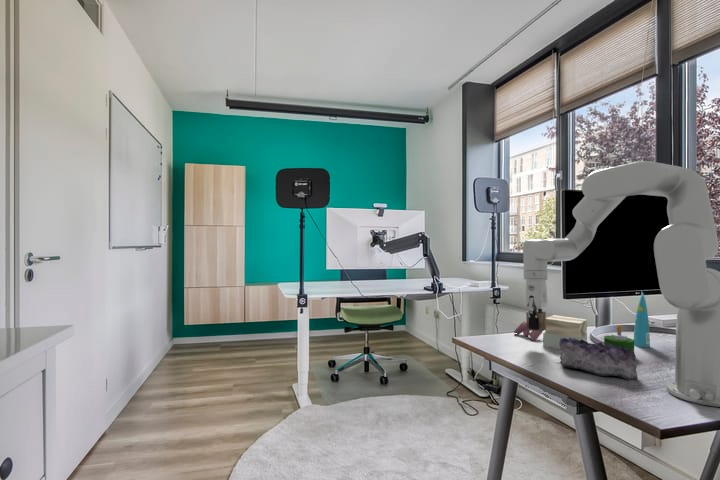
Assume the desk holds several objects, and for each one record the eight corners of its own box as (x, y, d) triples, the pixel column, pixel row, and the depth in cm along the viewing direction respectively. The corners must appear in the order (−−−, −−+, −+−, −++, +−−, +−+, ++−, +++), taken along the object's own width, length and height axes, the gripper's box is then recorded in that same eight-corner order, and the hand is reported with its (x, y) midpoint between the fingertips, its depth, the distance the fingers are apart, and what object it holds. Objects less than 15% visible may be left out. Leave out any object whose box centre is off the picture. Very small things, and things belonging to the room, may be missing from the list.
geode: (638, 372, 112) (640, 340, 111) (636, 390, 103) (638, 355, 102) (560, 355, 124) (562, 326, 123) (552, 370, 115) (553, 338, 114)
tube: (632, 342, 144) (633, 290, 144) (648, 344, 142) (649, 291, 141) (634, 347, 138) (635, 293, 137) (651, 349, 135) (652, 294, 135)
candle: (603, 350, 134) (604, 321, 134) (632, 354, 129) (633, 324, 129) (604, 356, 127) (604, 326, 126) (635, 360, 122) (635, 329, 122)
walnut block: (542, 331, 131) (541, 313, 131) (526, 329, 134) (526, 312, 134) (545, 329, 135) (545, 311, 135) (530, 327, 138) (530, 310, 138)
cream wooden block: (579, 338, 131) (579, 323, 131) (545, 332, 138) (545, 318, 138) (586, 333, 137) (586, 319, 137) (553, 328, 145) (553, 315, 145)
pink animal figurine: (539, 344, 145) (546, 327, 146) (531, 340, 144) (538, 322, 145) (519, 338, 154) (526, 321, 155) (512, 333, 153) (518, 317, 154)
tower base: (581, 353, 130) (581, 338, 130) (543, 346, 138) (543, 332, 138) (586, 347, 138) (587, 333, 138) (550, 341, 146) (550, 327, 146)
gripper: (540, 277, 126) (541, 333, 125) (553, 274, 139) (553, 325, 139) (516, 276, 130) (517, 330, 130) (531, 273, 144) (531, 322, 143)
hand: (536, 327), depth 134 cm, fingers closed on walnut block, 5 cm apart
